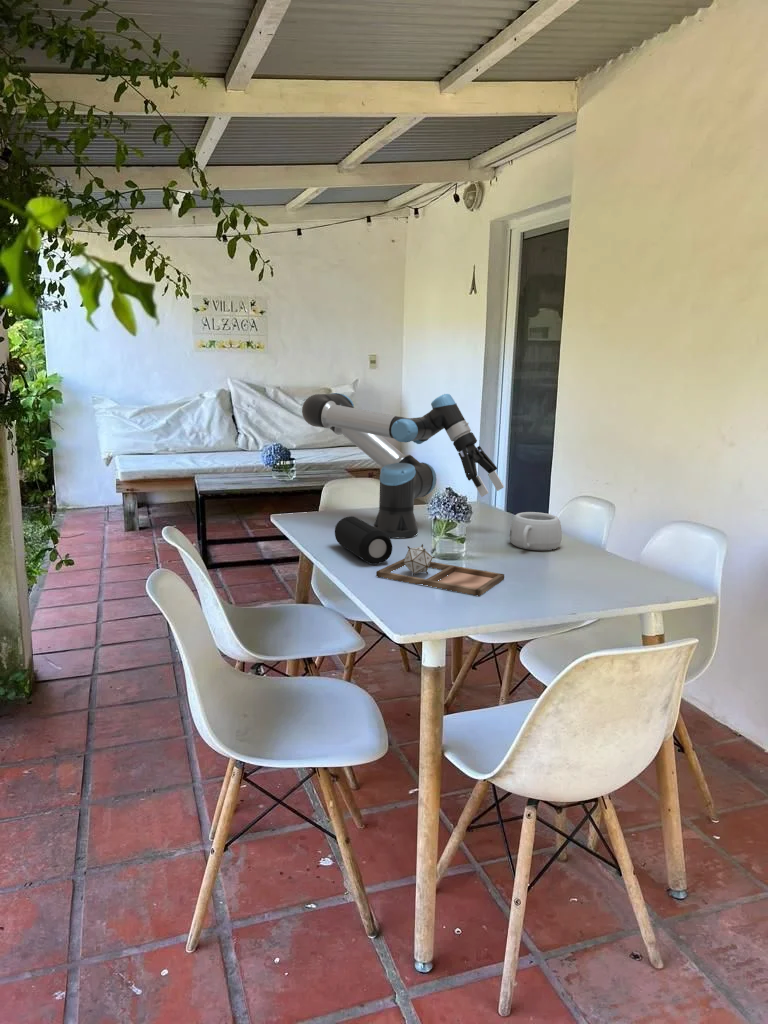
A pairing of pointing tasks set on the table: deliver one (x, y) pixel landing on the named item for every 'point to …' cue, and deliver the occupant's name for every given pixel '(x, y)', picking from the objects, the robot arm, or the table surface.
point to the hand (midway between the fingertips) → (493, 492)
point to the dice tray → (449, 578)
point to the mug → (536, 531)
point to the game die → (417, 560)
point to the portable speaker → (363, 540)
